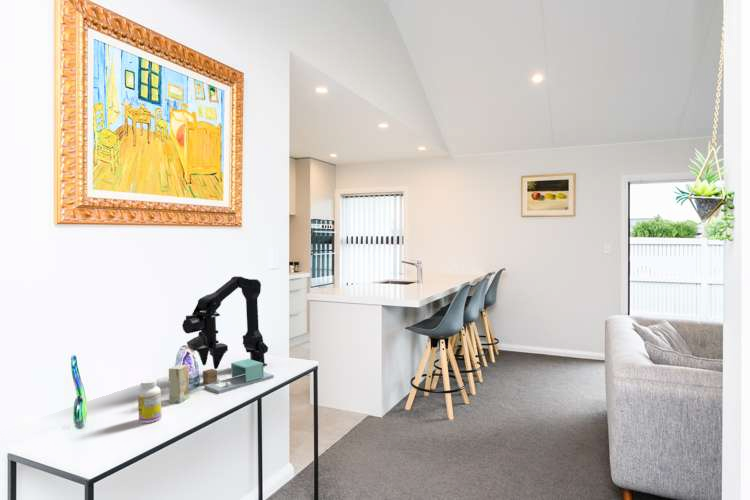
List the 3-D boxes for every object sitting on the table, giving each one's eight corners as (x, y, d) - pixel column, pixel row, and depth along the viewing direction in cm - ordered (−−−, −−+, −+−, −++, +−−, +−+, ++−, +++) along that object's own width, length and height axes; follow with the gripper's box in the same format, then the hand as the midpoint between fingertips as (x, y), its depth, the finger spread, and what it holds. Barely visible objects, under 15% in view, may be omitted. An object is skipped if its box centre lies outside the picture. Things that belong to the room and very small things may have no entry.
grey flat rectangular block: (204, 388, 184) (204, 381, 184) (259, 373, 203) (258, 367, 203) (218, 393, 177) (218, 386, 177) (273, 377, 196) (273, 371, 196)
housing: (231, 377, 193) (231, 362, 193) (248, 372, 199) (248, 358, 199) (246, 382, 186) (246, 367, 186) (263, 377, 192) (263, 363, 192)
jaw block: (203, 383, 191) (202, 371, 191) (212, 380, 194) (211, 368, 194) (208, 385, 189) (207, 372, 188) (217, 382, 192) (216, 370, 191)
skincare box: (180, 403, 168) (178, 369, 168) (169, 402, 169) (167, 369, 168) (190, 397, 175) (188, 364, 174) (179, 396, 175) (178, 364, 175)
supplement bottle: (140, 418, 155) (138, 379, 155) (162, 414, 157) (160, 376, 157) (137, 425, 149) (136, 385, 148) (160, 422, 151) (159, 382, 151)
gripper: (178, 329, 191) (179, 367, 191) (201, 335, 179) (202, 375, 179) (204, 324, 199) (205, 361, 200) (227, 330, 187) (229, 369, 187)
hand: (209, 366), depth 191 cm, fingers open, 9 cm apart
